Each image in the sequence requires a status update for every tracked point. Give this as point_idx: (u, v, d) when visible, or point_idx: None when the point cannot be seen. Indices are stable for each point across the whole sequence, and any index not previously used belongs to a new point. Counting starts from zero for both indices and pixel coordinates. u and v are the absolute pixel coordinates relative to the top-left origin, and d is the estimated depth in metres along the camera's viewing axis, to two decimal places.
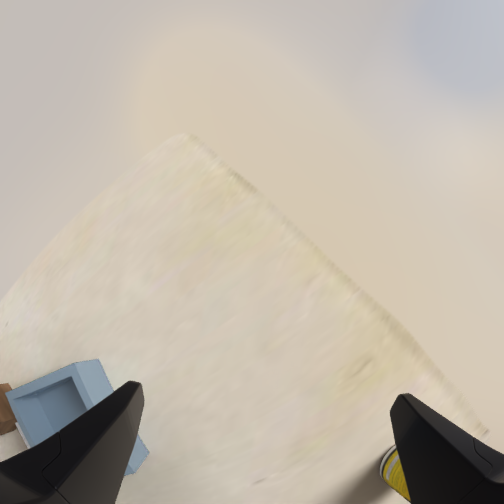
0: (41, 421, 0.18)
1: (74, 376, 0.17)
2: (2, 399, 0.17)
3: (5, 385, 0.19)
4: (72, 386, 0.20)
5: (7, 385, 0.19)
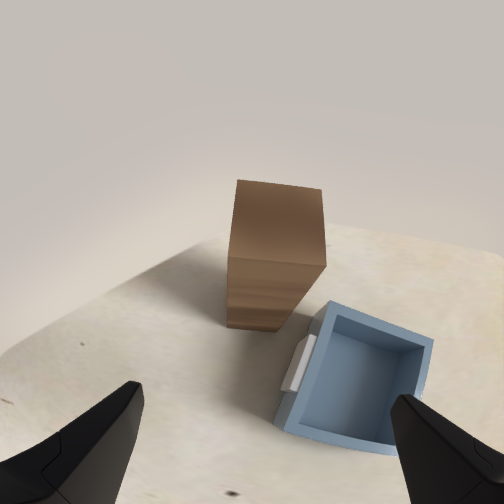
0: None
1: (427, 348, 0.19)
2: None
3: None
4: (370, 352, 0.22)
5: None
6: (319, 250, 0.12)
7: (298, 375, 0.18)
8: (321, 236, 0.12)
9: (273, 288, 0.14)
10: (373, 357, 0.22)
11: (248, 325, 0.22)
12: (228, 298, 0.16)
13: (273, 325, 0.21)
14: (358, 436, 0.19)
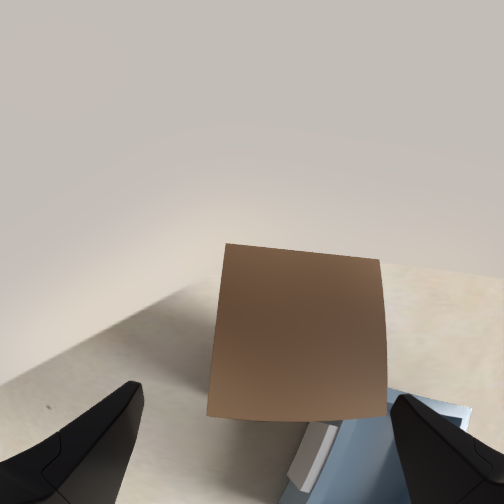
0: None
1: (464, 420, 0.12)
2: None
3: None
4: None
5: None
6: (377, 389, 0.06)
7: (312, 475, 0.11)
8: (381, 359, 0.06)
9: None
10: None
11: None
12: None
13: None
14: None
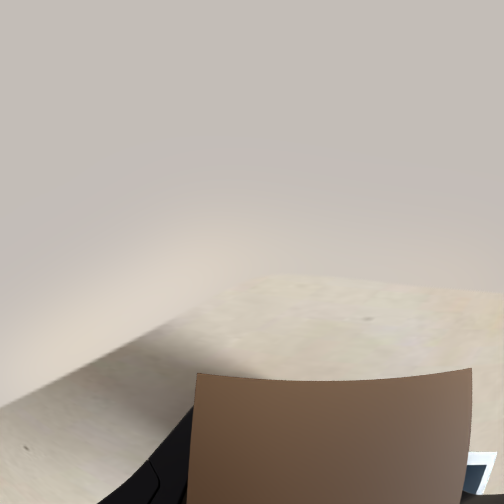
0: None
1: (488, 466, 0.08)
2: None
3: None
4: None
5: None
6: None
7: None
8: None
9: None
10: None
11: None
12: None
13: None
14: None
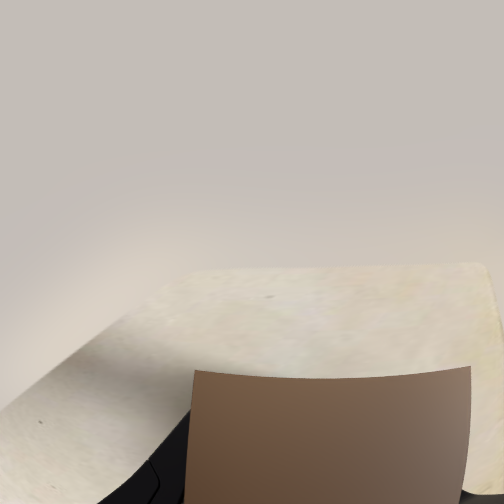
0: None
1: None
2: None
3: None
4: None
5: None
6: None
7: None
8: None
9: None
10: None
11: None
12: None
13: None
14: None
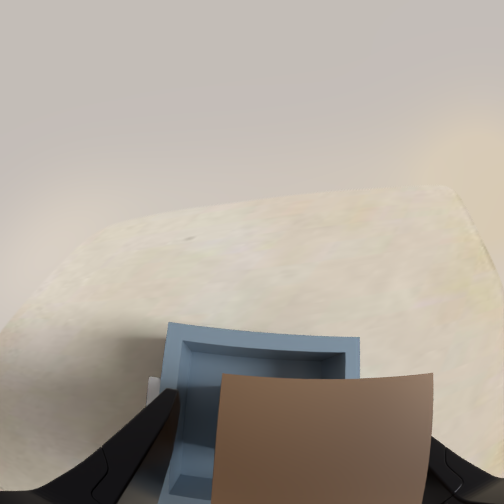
0: (183, 394, 0.14)
1: (350, 355, 0.13)
2: None
3: None
4: (273, 369, 0.17)
5: None
6: None
7: None
8: (417, 495, 0.03)
9: None
10: (280, 375, 0.16)
11: None
12: None
13: None
14: None
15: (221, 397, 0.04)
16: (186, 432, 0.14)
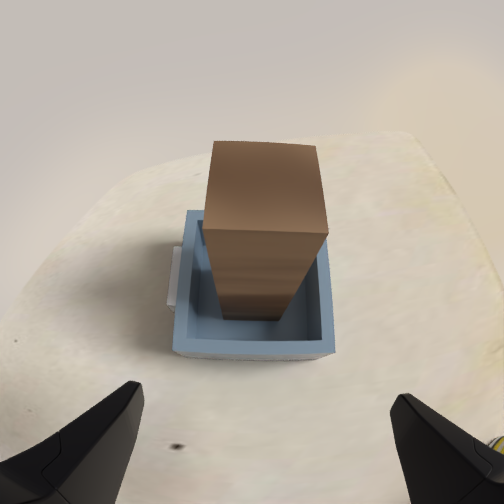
0: (198, 271, 0.21)
1: None
2: None
3: None
4: None
5: None
6: (318, 215, 0.09)
7: (172, 288, 0.18)
8: (320, 198, 0.10)
9: (266, 268, 0.12)
10: None
11: (246, 315, 0.19)
12: (216, 284, 0.14)
13: (274, 313, 0.19)
14: None
15: (213, 148, 0.11)
16: (200, 307, 0.21)
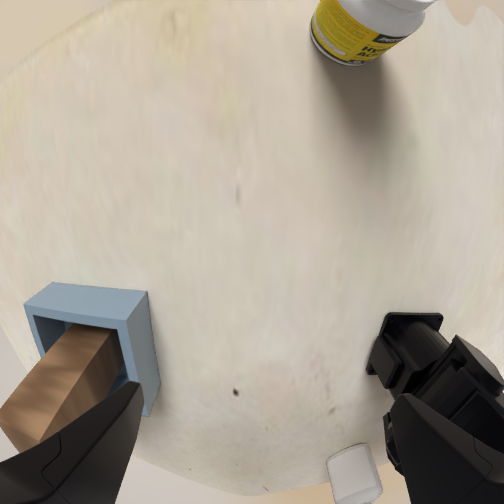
0: None
1: (32, 311, 0.17)
2: (81, 335, 0.19)
3: None
4: (69, 324, 0.22)
5: None
6: (32, 439, 0.09)
7: None
8: (23, 434, 0.09)
9: None
10: None
11: (115, 357, 0.21)
12: None
13: (108, 343, 0.20)
14: None
15: None
16: (121, 373, 0.23)
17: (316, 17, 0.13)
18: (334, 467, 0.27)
